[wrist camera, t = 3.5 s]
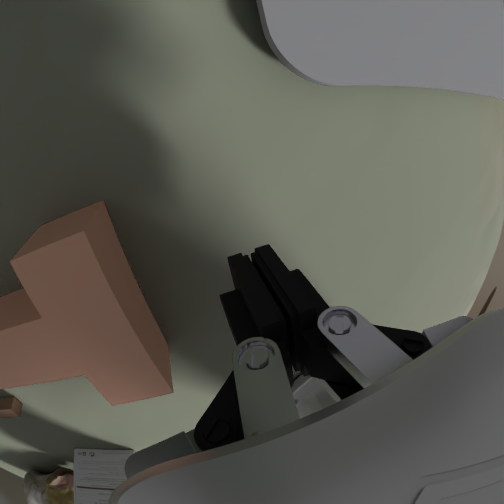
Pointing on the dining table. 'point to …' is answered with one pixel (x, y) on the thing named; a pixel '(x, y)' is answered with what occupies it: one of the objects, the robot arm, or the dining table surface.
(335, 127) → the dining table surface
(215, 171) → the dining table surface
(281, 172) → the dining table surface
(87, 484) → the supplement box
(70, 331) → the t block
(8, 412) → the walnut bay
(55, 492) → the ceramic sculpture
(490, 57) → the tablet
